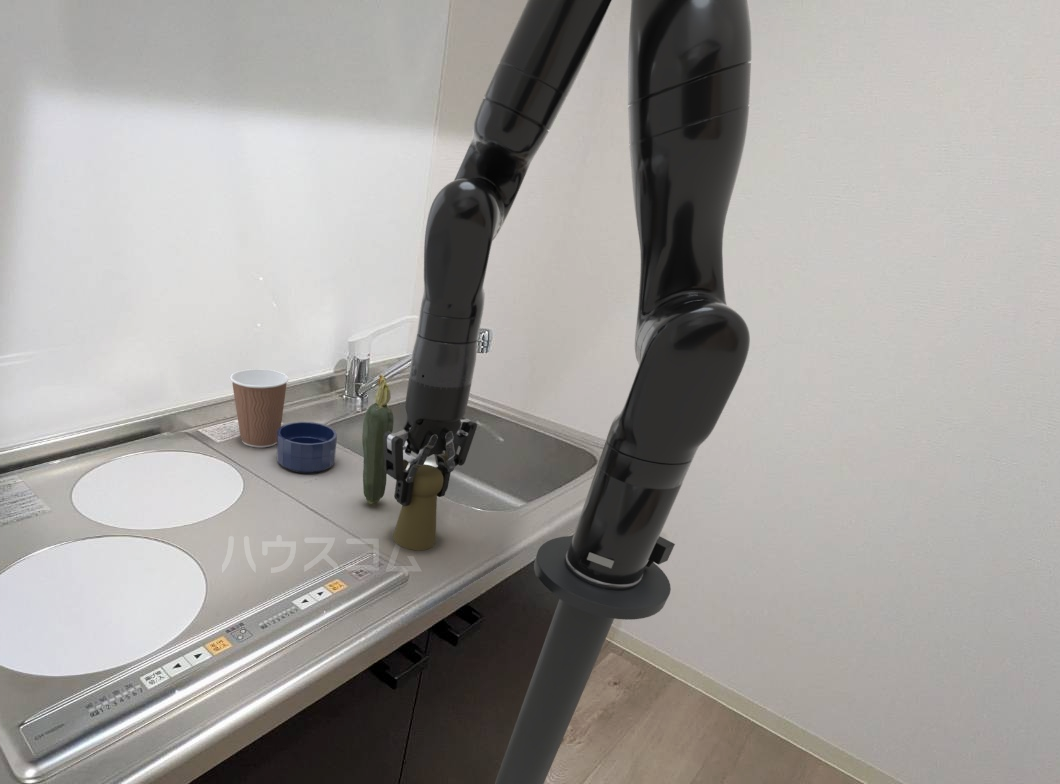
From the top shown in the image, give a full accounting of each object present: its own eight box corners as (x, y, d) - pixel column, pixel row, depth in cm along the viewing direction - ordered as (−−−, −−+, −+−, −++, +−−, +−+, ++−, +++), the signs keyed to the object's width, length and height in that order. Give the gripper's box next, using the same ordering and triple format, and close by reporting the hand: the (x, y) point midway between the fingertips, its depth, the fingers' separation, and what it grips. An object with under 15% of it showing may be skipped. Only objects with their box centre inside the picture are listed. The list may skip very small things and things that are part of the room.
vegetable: (383, 513, 89) (399, 383, 77) (355, 511, 89) (367, 380, 78) (383, 499, 92) (398, 373, 81) (355, 497, 92) (367, 371, 81)
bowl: (315, 446, 108) (316, 418, 105) (346, 468, 101) (348, 438, 98) (266, 456, 104) (266, 427, 101) (295, 479, 97) (295, 448, 94)
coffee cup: (296, 436, 112) (297, 374, 105) (272, 455, 104) (272, 389, 97) (249, 426, 115) (247, 365, 108) (222, 444, 107) (219, 379, 100)
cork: (387, 543, 81) (397, 472, 75) (399, 524, 86) (409, 455, 80) (429, 554, 80) (442, 482, 73) (439, 533, 84) (453, 464, 78)
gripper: (414, 392, 64) (395, 523, 73) (505, 377, 71) (478, 499, 80) (374, 373, 69) (361, 498, 79) (463, 360, 76) (441, 477, 85)
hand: (420, 498), depth 79 cm, fingers open, 5 cm apart
